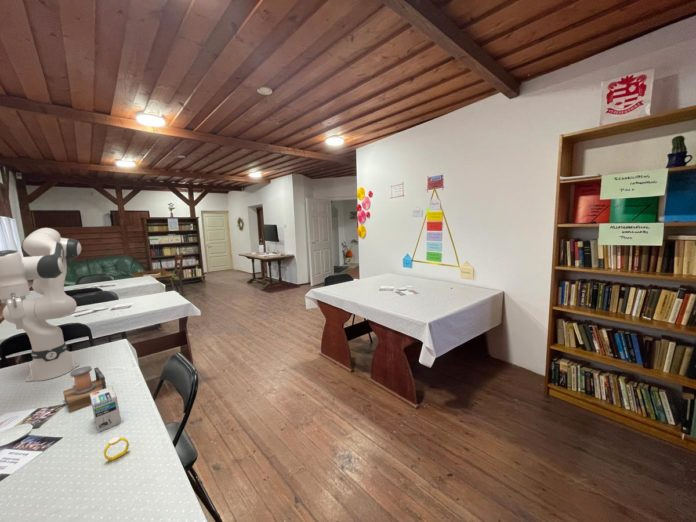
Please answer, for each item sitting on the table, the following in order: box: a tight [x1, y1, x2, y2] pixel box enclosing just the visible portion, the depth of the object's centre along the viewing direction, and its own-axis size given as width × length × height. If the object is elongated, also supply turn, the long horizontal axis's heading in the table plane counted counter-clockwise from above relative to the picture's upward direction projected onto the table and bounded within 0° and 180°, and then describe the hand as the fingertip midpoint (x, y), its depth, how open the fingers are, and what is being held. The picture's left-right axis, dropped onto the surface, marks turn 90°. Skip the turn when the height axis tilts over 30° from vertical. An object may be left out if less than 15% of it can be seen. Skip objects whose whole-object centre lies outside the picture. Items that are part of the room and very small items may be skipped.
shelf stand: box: [62, 366, 107, 413], centre depth 120 cm, size 14×12×10 cm
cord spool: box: [69, 365, 95, 395], centre depth 119 cm, size 6×6×9 cm
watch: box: [103, 436, 130, 461], centre depth 89 cm, size 6×3×6 cm, turn 138°
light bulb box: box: [90, 385, 122, 433], centre depth 105 cm, size 11×7×11 cm, turn 47°
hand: (19, 326), depth 113 cm, fingers open, 8 cm apart
